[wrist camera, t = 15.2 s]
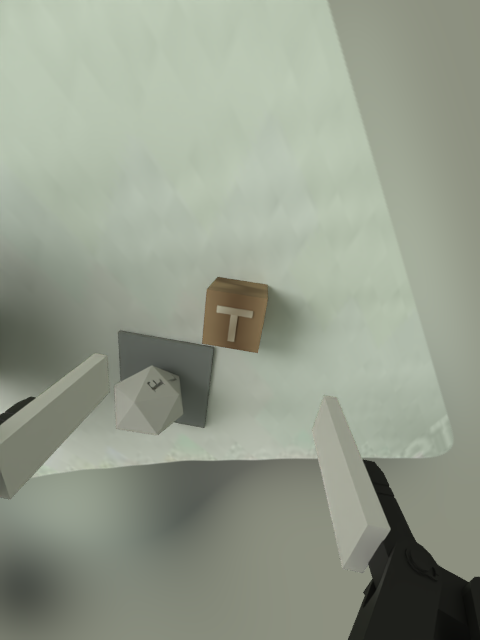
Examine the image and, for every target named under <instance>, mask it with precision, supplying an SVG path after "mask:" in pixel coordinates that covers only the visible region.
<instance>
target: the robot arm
mask: <svg viewBox="0 0 480 640" xmlns="http://www.w3.org/2000/svg"><path fill="white" fill-rule="evenodd" d="M109 392H110V390H109V376H108V361H107V355H102V354H97V353H94V354H93V355H92V356H91V357H89V358H88V359H87V360H85V361H84V362H83V363H81V364H80V365H79V366H77V367H76V368H75V369H73V370H72V371H71V372H69V373H68V374H67V375H66V376H64V377H63V378H62V379H60V380H59V381H58V382H56V383H55V384H54V385H52V386H51V387H50V388H48V389H47V390H46V391H45V392H43V393H42V394H41V395H39V396H38V397H37V398H35V397H29V398H27V399H25V400H22V401H20V402H18V403H16V404H15V405H14V406H12V407H11V408H9V409H8V410H7V411H5V413H2V414H1V415H0V497H1V498H6V499H11V498H12V497H13V496H14V495H15V494H16V493H17V492H18V491H19V489H21V487H22V486H23V485H24V484H25V483H26V482H27V481H28V480H29V479H30V478H31V477H32V476H33V474H34V473H35V472H36V471H37V470H38V469H39V468H40V467H41V466H42V465H43V464H44V463H45V462H46V460H47V459H48V458H49V457H50V456H51V455H52V454H53V453H54V452H55V451H56V450H57V449H58V447H59V446H60V445H61V444H62V443H63V442H64V441H65V440H66V439H67V438H68V437H69V436H70V434H71V433H72V432H73V431H74V430H75V429H76V428H77V427H78V426H79V425H80V424H81V423H82V421H83V420H84V419H85V418H86V417H87V416H88V415H89V414H90V413H91V412H92V411H93V410H94V409H95V407H96V406H97V405H98V404H99V403H100V402H101V401H102V400H103V399H104V398H105V397H106V396H107V394H108V393H109ZM312 433H313V438H314V442H315V447H316V451H317V456H318V460H319V465H320V469H321V474H322V478H323V483H324V487H325V492H326V496H327V501H328V505H329V510H330V515H331V519H332V524H333V528H334V533H335V537H336V542H337V546H338V551H339V555H340V560H341V564H342V569H346V570H351V571H355V572H360V573H363V572H364V570H365V569H366V567H367V566H368V565H369V568H370V571H371V574H372V578H373V579H372V580H371V582H370V583H369V585H368V586H367V588H366V589H365V591H364V592H363V593H364V594H365V597H364V600H363V602H362V605H361V607H360V610H359V612H358V615H357V618H356V620H355V623H354V625H353V628H352V631H351V633H350V636H349V638H348V640H480V577H474V578H473V579H472V580H471V581H470V582H467V581H466V580H463V579H462V578H460V577H458V576H456V575H455V574H453V573H451V572H449V571H447V570H445V569H444V568H442V567H440V566H439V565H437V563H436V562H435V560H434V559H433V557H432V556H431V554H430V553H429V552H428V551H427V550H426V549H424V548H423V546H421V545H420V544H418V543H417V542H416V540H415V539H414V537H413V535H412V533H411V531H410V529H409V526H408V524H407V522H406V520H405V518H404V516H403V514H402V511H401V509H400V507H399V505H398V503H397V501H396V499H395V498H394V494H393V492H392V490H391V488H389V484H388V482H387V479H386V477H385V475H384V473H383V472H382V471H381V469H380V468H379V467H378V466H377V465H376V463H375V462H372V461H367V460H362V458H361V455H360V453H359V450H358V448H357V445H356V443H355V440H354V438H353V435H352V433H351V431H350V428H349V426H348V423H347V421H346V418H345V416H344V413H343V411H342V408H341V406H340V404H339V401H338V399H337V397H331V396H326V395H324V396H323V399H322V402H321V405H320V408H319V411H318V414H317V417H316V420H315V423H314V426H313V428H312Z"/></svg>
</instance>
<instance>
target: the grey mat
mask: <svg viewBox="0 0 480 640" xmlns="http://www.w3.org/2000/svg"><path fill="white" fill-rule="evenodd" d="M118 339H119V358H120V377H121V381H123V380H125V379H127V378H129V377H131V376H133V375H134V374H136V373H138V372H140V371H142V370H144V369H146V368H148V367H150V366H155V367H157V368H160V369H162V370H165V371H167V372H169V373H172V374H175V375H177V376H179V379H180V388H181V397H182V406H183V415H182V416H180V417H179V418H178V419H177V420H176V421H174V422H175V423H180V424H185V425H191V426H196V427H201V428H204V427H205V420H206V412H207V403H208V394H209V386H210V377H211V368H212V360H213V351H214V347H211V346H205V345H199V344H194V343H188V342H182V341H176V340H171V339H165V338H159V337H154V336H148V335H142V334H136V333H131V332H125V331H119V332H118Z"/></svg>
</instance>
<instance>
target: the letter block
mask: <svg viewBox="0 0 480 640" xmlns="http://www.w3.org/2000/svg"><path fill="white" fill-rule="evenodd" d="M267 301H268V286H267V285H266V284H259V283H253V282H247V281H240V280H234V279H227V278H221V277H217V278H216V280H215V281H214V282H213V283H212V284H211V285H210V286H209V288H208V289H207V294H206V305H205V317H204V328H203V339H202V344H208V345H214V346H220V347H225V348H231V349H237V350H243V351H249V352H255V353H258V349H259V344H260V339H261V333H262V328H263V323H264V317H265V312H266V307H267Z"/></svg>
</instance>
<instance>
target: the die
mask: <svg viewBox="0 0 480 640" xmlns="http://www.w3.org/2000/svg"><path fill="white" fill-rule="evenodd" d="M114 395H115V419H116V429H119V430H126V431H132V432H139V433H145V434H152V435H159V434H160V433H161V432H162V431H164V430H165V429H166V428H167V427H168V426H170V425H171V424H172V423H173V422H174V421H176V420H177V419H178V418H179V417H180V416H182V415H183V406H182V397H181V388H180V379H179V376H177V375H175V374H172V373H169V372H167V371H165V370H162V369H160V368H157V367H155V366H150V367H148V368H146V369H144V370H142V371H140V372H138V373H136V374H134V375H133V376H131V377H129V378H127V379H125V380H123V381H121V382H119V383H117V384H115V385H114Z"/></svg>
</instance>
